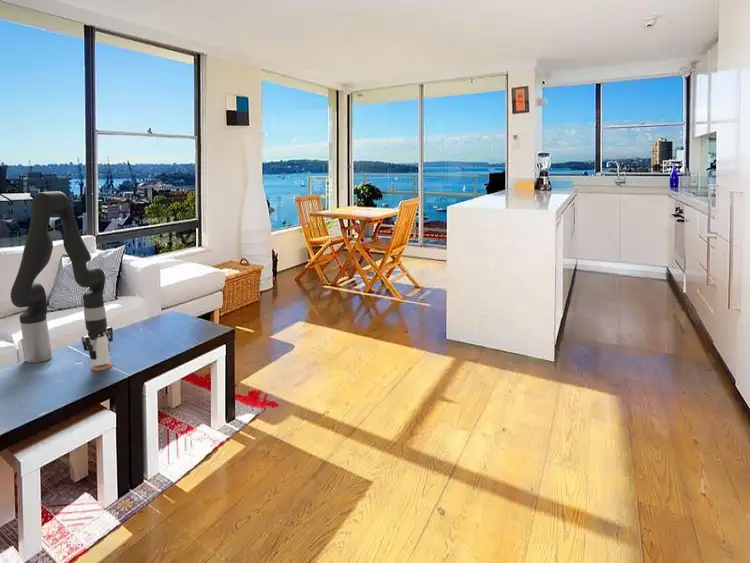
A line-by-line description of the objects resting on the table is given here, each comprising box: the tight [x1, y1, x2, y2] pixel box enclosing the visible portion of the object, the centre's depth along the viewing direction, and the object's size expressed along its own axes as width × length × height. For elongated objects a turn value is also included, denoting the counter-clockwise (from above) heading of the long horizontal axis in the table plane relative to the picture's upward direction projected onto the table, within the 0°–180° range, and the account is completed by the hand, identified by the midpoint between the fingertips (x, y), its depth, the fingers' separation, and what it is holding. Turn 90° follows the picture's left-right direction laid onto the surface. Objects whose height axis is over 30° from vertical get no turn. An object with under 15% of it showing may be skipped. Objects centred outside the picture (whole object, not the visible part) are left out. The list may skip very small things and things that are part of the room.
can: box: [90, 334, 111, 366], centre depth 204 cm, size 6×6×12 cm
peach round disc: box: [90, 361, 114, 372], centre depth 206 cm, size 8×8×1 cm
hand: (100, 355), depth 205 cm, fingers closed on can, 6 cm apart
